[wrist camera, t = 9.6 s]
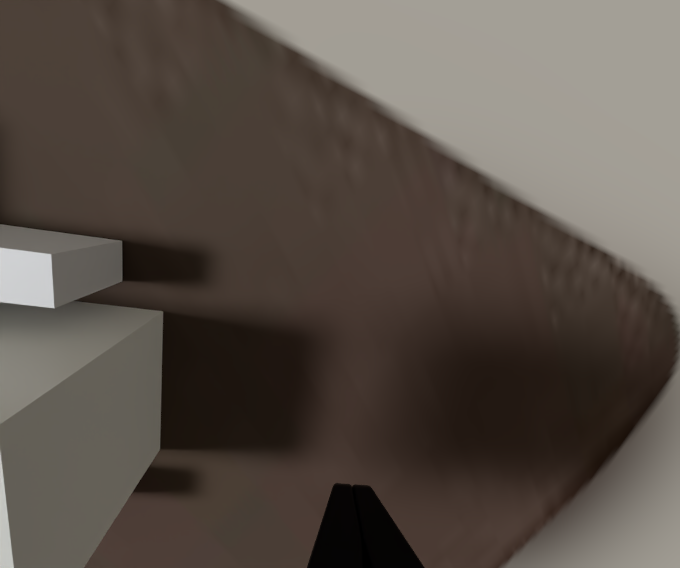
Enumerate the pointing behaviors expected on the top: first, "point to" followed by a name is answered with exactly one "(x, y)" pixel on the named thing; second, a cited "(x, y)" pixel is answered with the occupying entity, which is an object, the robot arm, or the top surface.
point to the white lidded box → (73, 425)
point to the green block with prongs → (55, 266)
